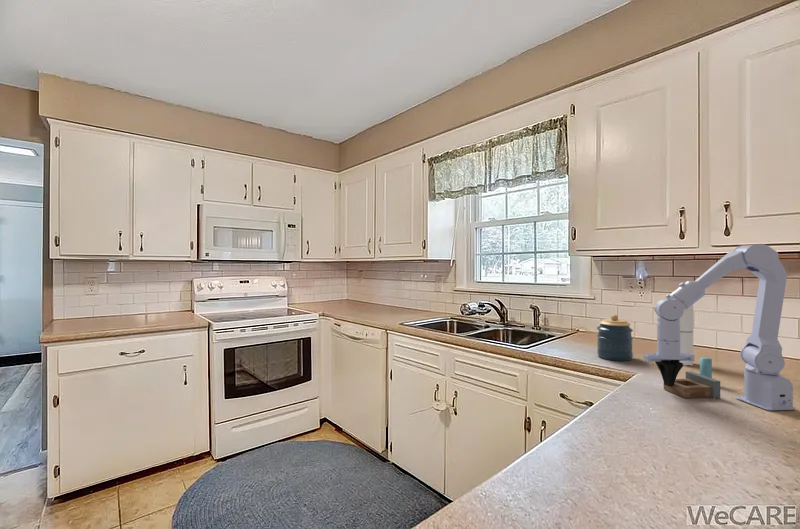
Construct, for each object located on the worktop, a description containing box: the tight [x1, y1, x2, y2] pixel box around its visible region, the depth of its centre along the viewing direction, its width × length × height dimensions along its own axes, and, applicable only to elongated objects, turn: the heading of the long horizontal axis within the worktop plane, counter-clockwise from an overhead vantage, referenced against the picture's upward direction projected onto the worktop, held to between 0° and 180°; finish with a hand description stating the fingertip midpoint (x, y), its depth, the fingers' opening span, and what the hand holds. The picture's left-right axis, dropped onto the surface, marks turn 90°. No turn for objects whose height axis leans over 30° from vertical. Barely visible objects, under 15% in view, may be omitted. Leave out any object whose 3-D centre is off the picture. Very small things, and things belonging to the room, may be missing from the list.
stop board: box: [685, 371, 721, 399], centre depth 116 cm, size 10×2×5 cm, turn 4°
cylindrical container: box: [679, 304, 694, 366], centre depth 150 cm, size 7×7×25 cm
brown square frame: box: [663, 378, 711, 399], centre depth 116 cm, size 8×8×3 cm
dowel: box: [699, 356, 713, 379], centre depth 125 cm, size 3×3×8 cm
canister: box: [596, 314, 634, 362], centre depth 160 cm, size 13×13×18 cm
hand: (668, 385), depth 116 cm, fingers closed
